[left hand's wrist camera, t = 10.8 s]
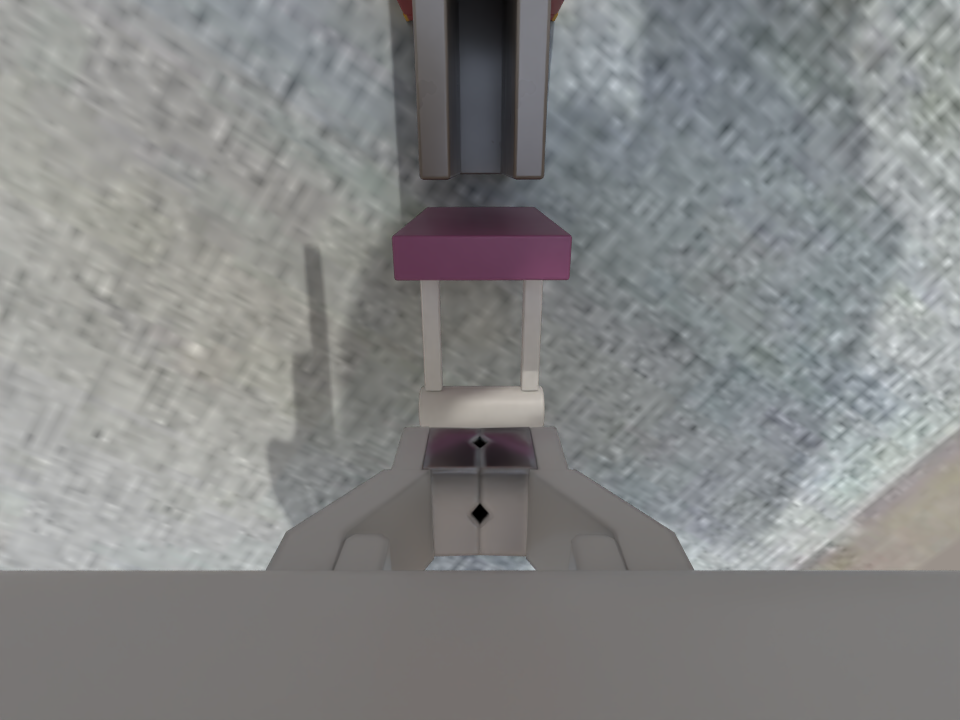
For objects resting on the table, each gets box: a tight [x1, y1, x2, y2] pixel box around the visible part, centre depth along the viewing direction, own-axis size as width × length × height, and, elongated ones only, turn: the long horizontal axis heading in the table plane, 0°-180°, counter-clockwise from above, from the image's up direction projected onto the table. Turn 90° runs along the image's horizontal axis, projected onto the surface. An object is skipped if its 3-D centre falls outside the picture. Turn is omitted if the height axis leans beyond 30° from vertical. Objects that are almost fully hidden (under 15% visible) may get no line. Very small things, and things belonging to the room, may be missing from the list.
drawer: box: [392, 0, 572, 428], centre depth 16 cm, size 25×5×10 cm, turn 0°
